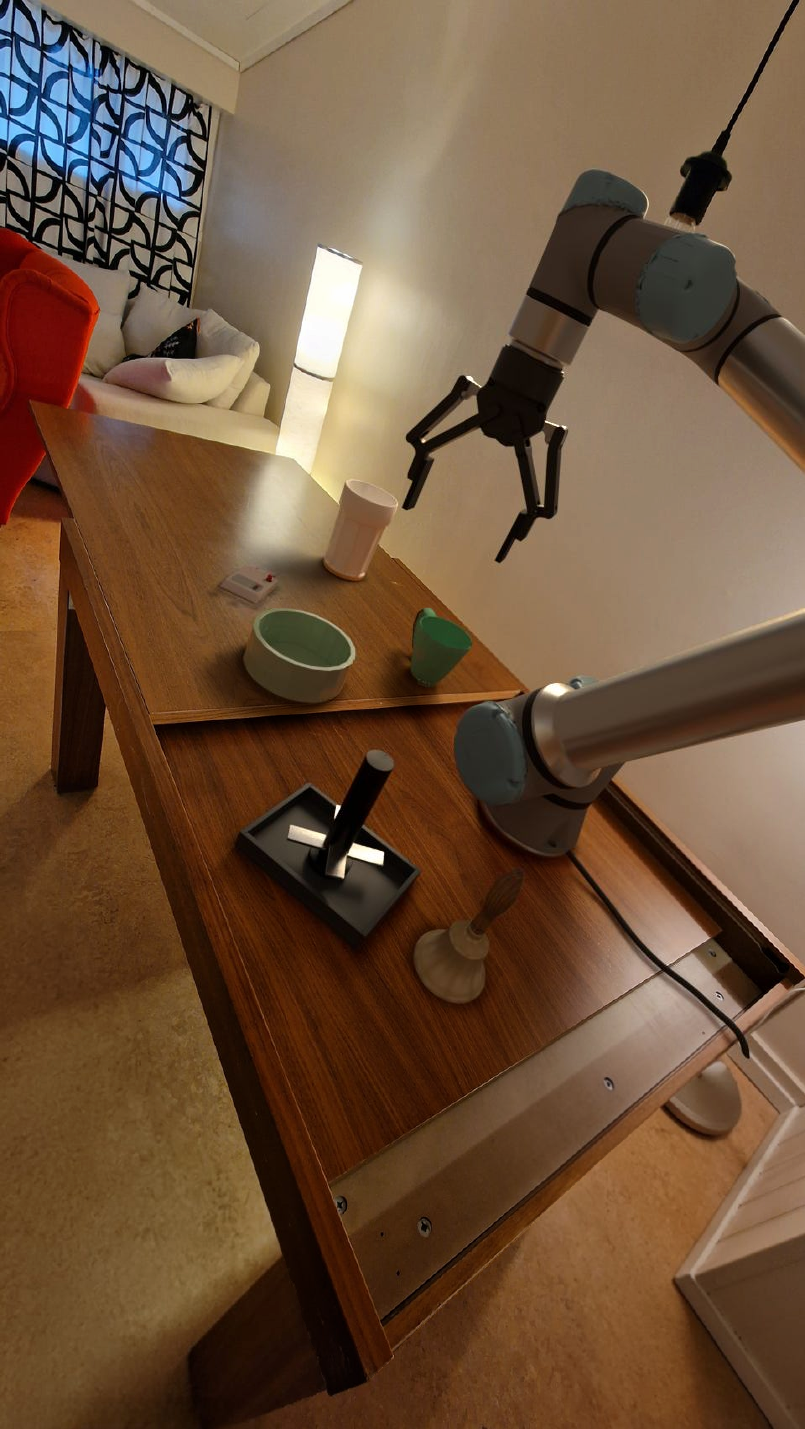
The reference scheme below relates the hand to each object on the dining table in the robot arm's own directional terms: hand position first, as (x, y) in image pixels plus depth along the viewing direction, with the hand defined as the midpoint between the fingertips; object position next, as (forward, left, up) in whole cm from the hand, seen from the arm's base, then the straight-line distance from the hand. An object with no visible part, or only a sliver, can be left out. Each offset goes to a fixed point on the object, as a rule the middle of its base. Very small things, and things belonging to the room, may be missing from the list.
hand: (453, 533), depth 79 cm
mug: (+2, -20, -31) cm, 37 cm away
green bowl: (+13, +3, -31) cm, 33 cm away
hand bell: (-30, +28, -31) cm, 51 cm away
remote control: (+34, -10, -31) cm, 47 cm away
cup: (+32, -37, -31) cm, 58 cm away
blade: (-13, +28, -30) cm, 43 cm away
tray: (-13, +28, -31) cm, 44 cm away
